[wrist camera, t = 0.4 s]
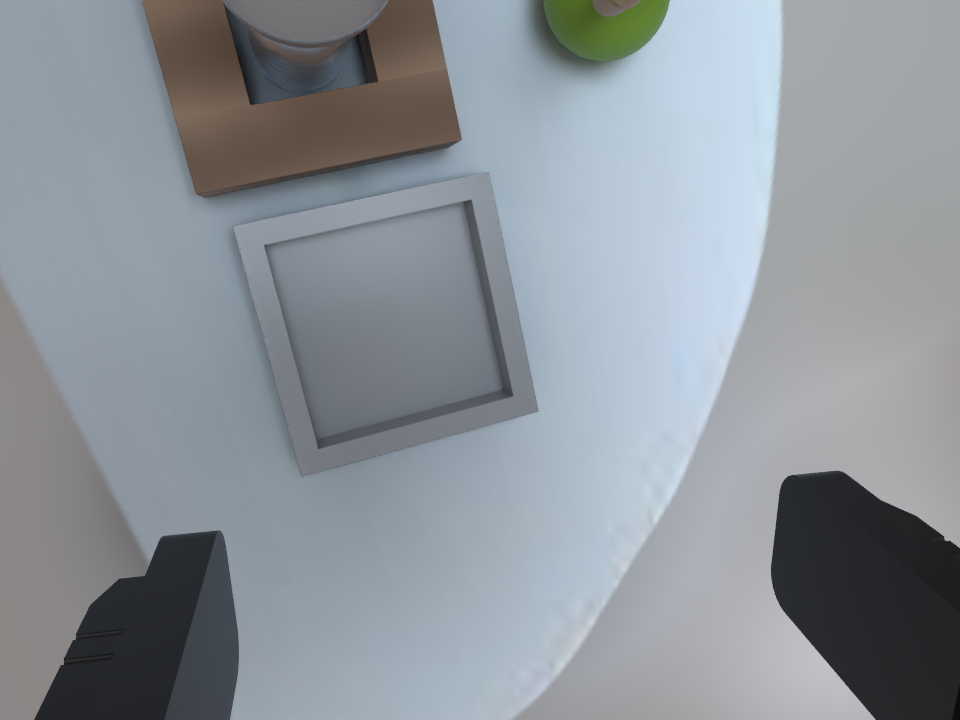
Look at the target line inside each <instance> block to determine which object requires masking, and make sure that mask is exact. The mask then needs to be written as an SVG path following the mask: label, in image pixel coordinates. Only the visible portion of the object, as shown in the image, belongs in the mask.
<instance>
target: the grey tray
mask: <svg viewBox="0 0 960 720" xmlns="http://www.w3.org/2000/svg"><path fill="white" fill-rule="evenodd" d="M233 229H234V232H235V236H236V240H237V243H238V247H239V251H240V254H241V258H242V262H243V265H244V269H245V273H246V276H247V280H248V284H249V287H250V291H251V295H252V298H253V302H254V306H255V309H256V313H257V317H258V320H259V324H260V328H261V331H262V335H263V339H264V342H265V346H266V350H267V353H268V357H269V360H270V364H271V368H272V371H273V375H274V379H275V382H276V386H277V390H278V393H279V397H280V401H281V404H282V408H283V412H284V415H285V419H286V423H287V426H288V430H289V434H290V437H291V441H292V445H293V448H294V452H295V456H296V459H297V463H298V467H299V470H300V474H301V477H303V476H307V475H310V474H314V473H317V472H321V471H325V470H328V469H332V468H335V467H339V466H343V465H346V464H350V463H354V462H357V461H361V460H364V459H368V458H372V457H375V456H379V455H383V454H386V453H390V452H393V451H397V450H401V449H404V448H408V447H412V446H415V445H419V444H422V443H426V442H430V441H433V440H437V439H441V438H444V437H448V436H451V435H455V434H459V433H462V432H466V431H470V430H473V429H477V428H480V427H484V426H488V425H491V424H495V423H499V422H502V421H506V420H509V419H513V418H517V417H520V416H524V415H528V414H531V413H535V412H538V407H537V402H536V397H535V392H534V388H533V383H532V378H531V373H530V368H529V363H528V359H527V354H526V349H525V344H524V339H523V334H522V329H521V325H520V320H519V315H518V310H517V305H516V300H515V296H514V291H513V286H512V281H511V276H510V271H509V267H508V262H507V257H506V252H505V247H504V242H503V238H502V233H501V228H500V223H499V218H498V213H497V209H496V204H495V199H494V194H493V189H492V184H491V180H490V175H489V172H485V173H480V174H475V175H471V176H466V177H461V178H457V179H452V180H447V181H443V182H438V183H433V184H429V185H424V186H419V187H414V188H410V189H405V190H400V191H396V192H391V193H386V194H382V195H377V196H372V197H368V198H363V199H358V200H354V201H349V202H344V203H339V204H335V205H330V206H325V207H321V208H316V209H311V210H307V211H302V212H297V213H293V214H288V215H283V216H279V217H274V218H269V219H264V220H260V221H255V222H250V223H246V224H241V225H236V226H233Z"/></svg>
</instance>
